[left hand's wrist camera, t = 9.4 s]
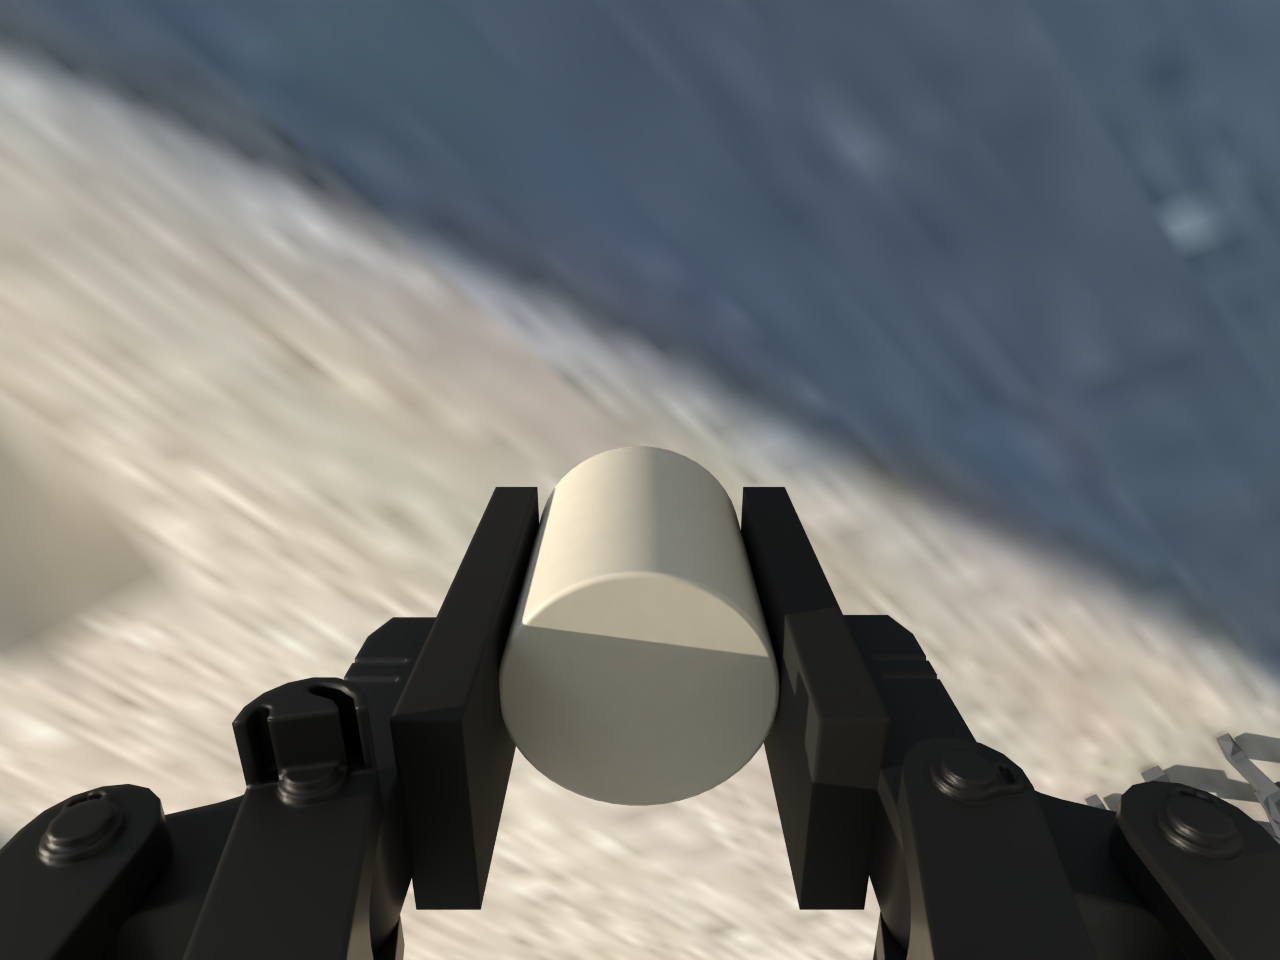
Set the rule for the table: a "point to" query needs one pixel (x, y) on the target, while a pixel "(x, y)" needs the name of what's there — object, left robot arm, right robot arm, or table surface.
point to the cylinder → (638, 635)
